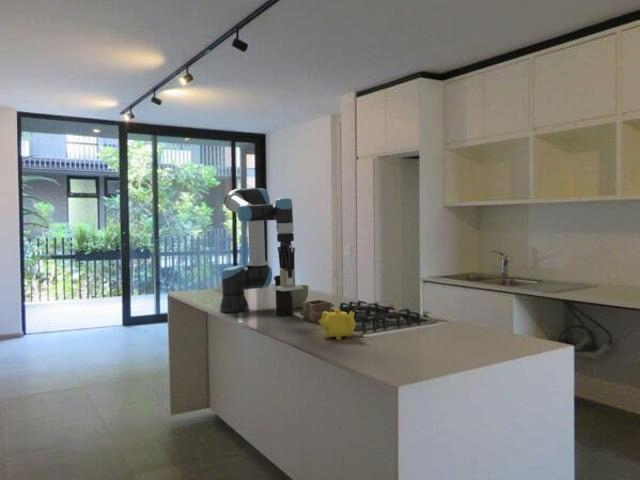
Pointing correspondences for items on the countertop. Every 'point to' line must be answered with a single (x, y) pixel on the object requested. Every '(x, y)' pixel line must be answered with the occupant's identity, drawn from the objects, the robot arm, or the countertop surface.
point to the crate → (315, 309)
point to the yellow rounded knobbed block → (337, 324)
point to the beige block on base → (284, 284)
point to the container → (283, 300)
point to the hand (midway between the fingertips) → (287, 284)
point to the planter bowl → (299, 296)
